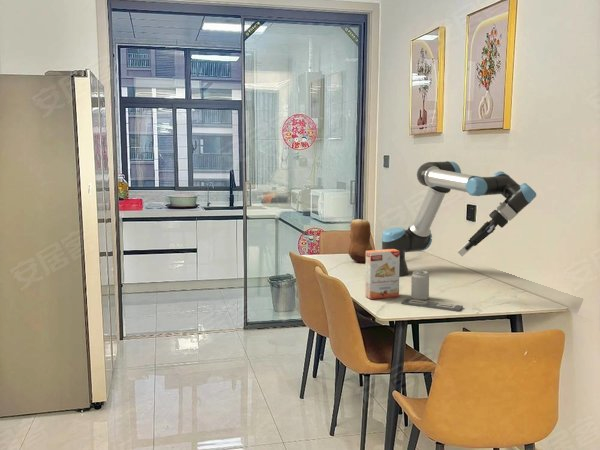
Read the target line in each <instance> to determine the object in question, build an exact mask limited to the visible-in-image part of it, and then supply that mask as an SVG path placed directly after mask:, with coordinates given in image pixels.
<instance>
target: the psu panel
mask: <svg viewBox="0 0 600 450" xmlns="http://www.w3.org/2000/svg"><path fill="white" fill-rule="evenodd" d="M401 305H408V306H413V307H414V306H415V307H422V308H430V309H437V310H445V311H452V312H458V313H459V312H461V310H462V309H464V306H463V305H458V304H450V303H442V302H436V301H427V300H424V301H421V300H414V299H413V298H406V299H405V300H404V299H403V300H402V301H401Z"/></svg>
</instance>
